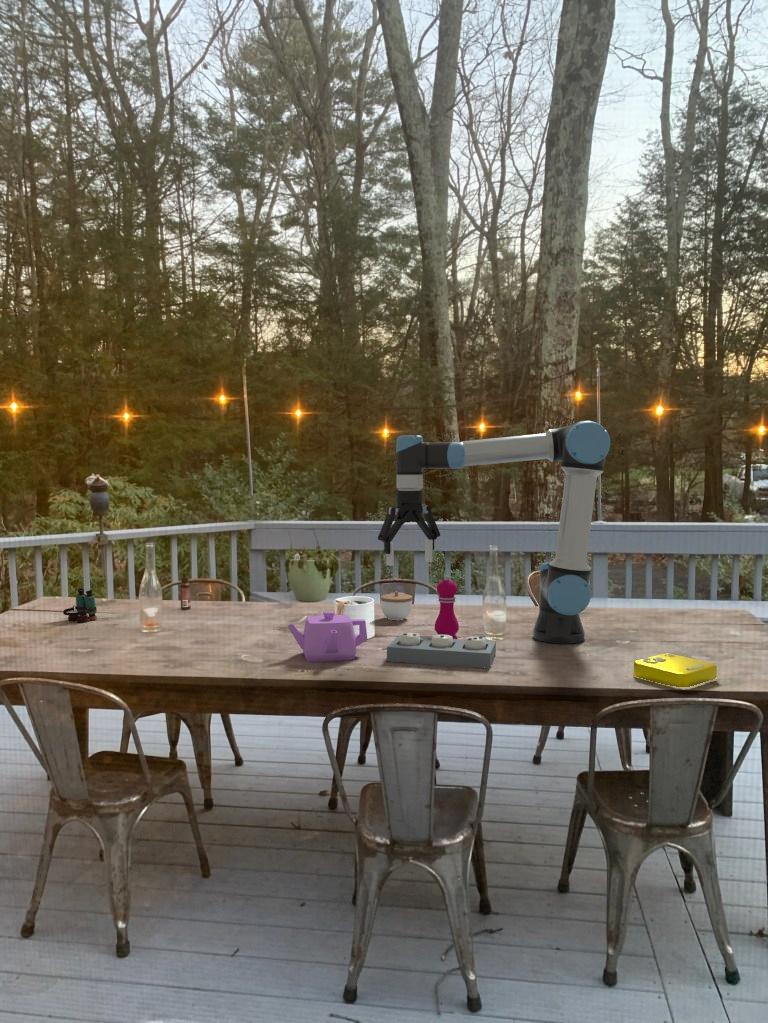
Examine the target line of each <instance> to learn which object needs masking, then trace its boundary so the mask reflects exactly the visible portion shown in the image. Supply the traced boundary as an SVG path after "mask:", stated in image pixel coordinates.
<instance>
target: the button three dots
mask: <svg viewBox="0 0 768 1023" xmlns="http://www.w3.org/2000/svg"><path fill="white" fill-rule="evenodd" d="M464 640H465V649H480V650H486V641H487V639H486V638H485V637H484V636H480V635H479V636H476V635H475V636H474V635H472V636H466V637H464Z"/></svg>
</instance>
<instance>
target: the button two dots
mask: <svg viewBox="0 0 768 1023" xmlns="http://www.w3.org/2000/svg"><path fill="white" fill-rule="evenodd" d="M399 636H400V645H415V646H419V645H420V637H421V634H420V633H418V632H417V633H416V632H403V633H400V634H399Z"/></svg>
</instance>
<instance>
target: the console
mask: <svg viewBox="0 0 768 1023" xmlns="http://www.w3.org/2000/svg"><path fill="white" fill-rule="evenodd" d="M496 650H497V642H496V641H492V640H491V641H490V640H486V650H480V649H465V639H460V638H457V639H453V647H452V648H448V647H432V637H428V636H427V637H424V636H420V645H419V646H415V645H400V635H397V636H396V638H394V639H393V641H391V642H390V643H389V644H388V645H387V646H386V662H387V661H390V662H389V663H399V662H405V663H404V664H414V663H416V664H417V665H429V664H430V665H431V666H433V665H434V666H444V665H445V667H446V665H447V666H448V667H458V666H460V668H461V666H462V668H463V667H464V668H473V667H482V668H481V669H488V668H490V669H491V668H492V666H491V665H493V663H494V662H495V661H494V660H495V659H494V658H496V655H497V651H496ZM392 661H393V662H392ZM484 667H485V668H484Z"/></svg>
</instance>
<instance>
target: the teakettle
mask: <svg viewBox="0 0 768 1023" xmlns="http://www.w3.org/2000/svg"><path fill="white" fill-rule="evenodd" d="M335 613H336V612H335V611H332V610H327V611H323V612H322V615H308V616H306V619H305V622H304V623H305V624H304V628H303V633H302V632H301V630H300V629H298V628H297V626H295V624H294V623H288V624H287V625H286V626H287V628H288V630H289V631H290V633H291V634H292V636H293V637H294V639H295V641H296V642H297V644H298V645H299V646H300V648H301V650H302V651H303V654H304V657H305V660H306V661H307V662H308V663H309V662H311V663H312V662H313V663H319V662H320V663H322V662H324V663H325V662H328V661H329V662H341V661H342V660H345V661H352V659H353V660H355V658H356V654H357V647H358V646H360V645H361V644H362V643H364V642H366V641H368V632H367V625H366V623H367V622H366V619H363V618H362V619H351V617H350V616H349V615H348V614H335ZM354 626H359V629H358V630H359V632H358V634H357V635H355V630H354ZM342 662H343V661H342Z"/></svg>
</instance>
